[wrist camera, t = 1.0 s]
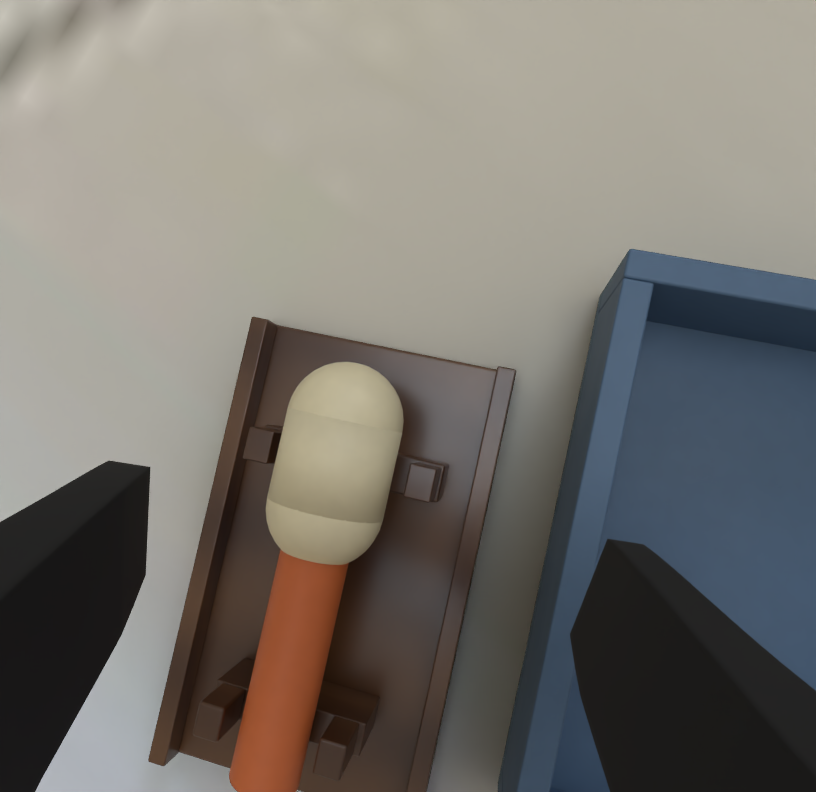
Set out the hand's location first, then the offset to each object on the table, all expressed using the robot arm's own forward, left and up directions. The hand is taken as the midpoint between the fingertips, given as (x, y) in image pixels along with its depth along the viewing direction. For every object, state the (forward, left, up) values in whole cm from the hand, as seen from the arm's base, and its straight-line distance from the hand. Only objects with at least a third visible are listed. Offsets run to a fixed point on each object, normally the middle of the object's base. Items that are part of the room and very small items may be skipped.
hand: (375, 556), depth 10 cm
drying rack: (-3, +3, -12) cm, 13 cm away
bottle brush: (-2, +3, -8) cm, 9 cm away
